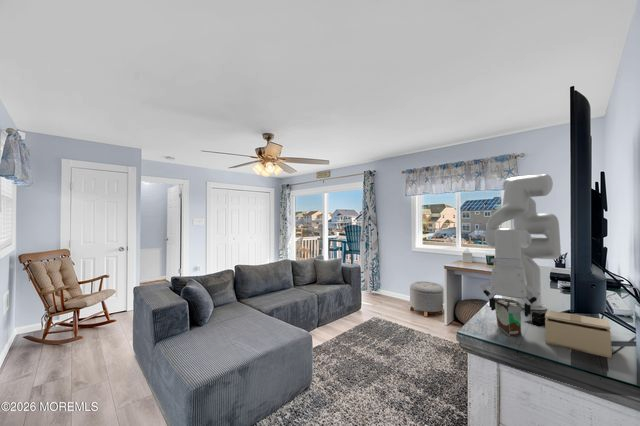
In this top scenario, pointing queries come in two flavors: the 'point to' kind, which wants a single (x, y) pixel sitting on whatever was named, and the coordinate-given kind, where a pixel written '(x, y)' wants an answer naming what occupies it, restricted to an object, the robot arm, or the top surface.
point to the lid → (578, 319)
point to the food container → (508, 316)
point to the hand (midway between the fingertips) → (509, 312)
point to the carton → (579, 337)
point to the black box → (537, 318)
